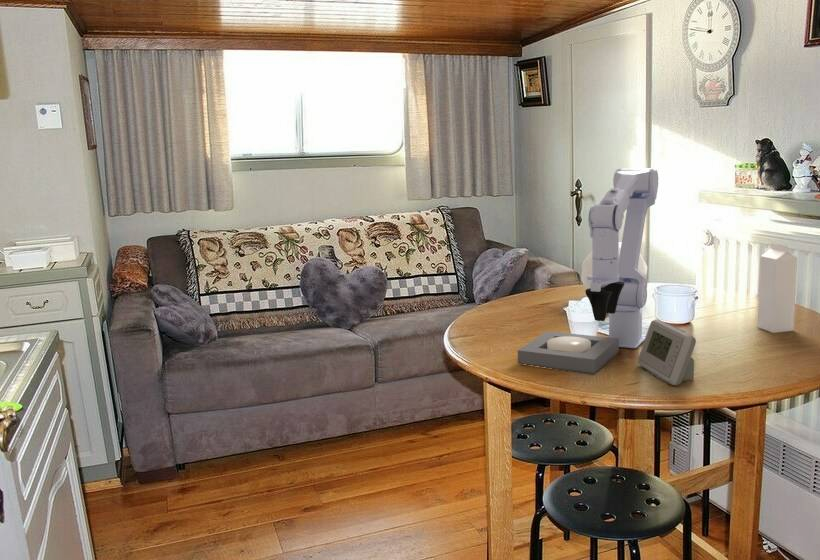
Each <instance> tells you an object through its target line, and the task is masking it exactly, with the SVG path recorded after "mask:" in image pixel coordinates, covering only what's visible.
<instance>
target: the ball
mask: <svg viewBox="0 0 820 560" xmlns="http://www.w3.org/2000/svg"><path fill="white" fill-rule="evenodd" d="M621 243H622V241H619V256H620V250H621ZM637 271H639V272H640V273H641V274H642V275H643V276H644V277H645V278H646V279H647V275H648V265H647V263H646V261H645V259H644V257H643V255H642V254H640V257H639V263H638V270H637ZM588 276H592V249H591V251H590V252H589V253H588V255H587V256H586V257H585V258H584V260H583V261H582V264H581V277H580V281H581V282H582V284H583V285H584V288H585V290H586V289H588V288H589V289H591V282H592V281H591V280H587V277H588Z"/></svg>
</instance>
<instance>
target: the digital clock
mask: <svg viewBox="0 0 820 560" xmlns="http://www.w3.org/2000/svg"><path fill="white" fill-rule="evenodd" d="M644 337H645V340H644V341H643V342H642V346H641V349H640V351H639V354H638V357H637V363H638V365H639V366H640V367H642V368H643V369H645V370H646V372H647V371H648V373H650V374H652V375H653V376H655V377H657V378H658V379H660V380H661V381H663V382H664V383H668V384H670V385H671V386H675V387H676V386H680V385H681V384H682V381H683V382H684V381H690V380H694V378H695V377H694V376H695V360H694V358H693V357H692V354H693V352H694V348H695V346H696V342H697V339H696V337H694V336H693V335H691V334H689V332H686V331H685V330H683V329H681V328H679V327H677V326H675V325H672V324H670V323H669V322H667V321H666V322H665V321H663V320H660V319H654V320H651V322H650V324H649V326H648V330H647V331H646V334H645V336H644Z"/></svg>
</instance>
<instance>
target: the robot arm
mask: <svg viewBox="0 0 820 560" xmlns="http://www.w3.org/2000/svg"><path fill="white" fill-rule="evenodd" d="M658 172H659V171H658V170H657V169H656V168H655V167H651V168H647V167H646V168H644V167H643V168H620V167H619V168H617V169H616V170H615V172H614V173H613V178H612V179H613V180H612V181H613V183H612V185H613V188H612V187H611V188H610V189H609V190H608V191H607V192H606V194H604V196H603V197H602V199H601V200H600V202H599V203H598V204H594V205H593V206H591V207H590V208H589V211H588V219H587V223H588V227H589V236H590V238H591V240H592V241H591V242H592V244H591V245H592V247H591V248H592V249H591V250H592V276H588V277H587V280H591V281H592V282H591V289H589V288H588V289H586V288H585V292H584V293H585V295H586V296H587V298H588V300H589V303H590V306H591V310H592V313H593V314H592V315H593V318H594V321H599V322H605V321H606V317H607V314H608V337H609V338H619V348H624V349H625V348H626V349H637V348H638V347H639V346H640V345H641V344H643V343H644V340H645V337H646V336H643V334H642V333H643V332H642V331H643V328H642V327H643V315H642V312H641V309H643V308H644V307H645V306H646V303H647V299H648V280H647V277H646V278H645V277H644V276H643V275H642V274H641V273H640V272H639V271H637V270H638V263H639V257H640V255H641V251H642V250H641V248H642V244H643V243H642V242H643V236H644V231H645V225H646V224H645V223H646V217H647V214H648V210H649V208H650V207H651V206H653V205H655V204H656V200H657V194H658V189H659V173H658ZM624 217H625V219H624ZM624 220H625V221H624ZM623 221H624V225H623ZM622 226H624V227H623V233H622V237H621V242H622V243H621V250H620V256H619V242H620V241H619V240H620V239H619V238H620V236H619V235H620V230H621V229H622Z"/></svg>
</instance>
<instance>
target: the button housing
mask: <svg viewBox="0 0 820 560" xmlns="http://www.w3.org/2000/svg"><path fill="white" fill-rule="evenodd" d="M565 336H571V337H581V338H585V339H588V340H590V341H591V348H590V349H589V350H588V351H586V352H585V353H577V352H568V351H560V350H551V349H547V341H548V340H550V339H552V338H556V337H565ZM619 350H620V347H619V338H609V336H608V337H607V336H598V335H597V336H596V335H587V334H579V333H578V334H577V333H569V332H558V331H548V330H547V331H545V332H543V333H542V334H540V335H539V336H537V337H535V338H534V339H533V340H531V341H529V342H528V343H526V344H525V345H523V346H522V347H520V348H519V349H518V350H517V364H518V363H519V364H526V365H533V366H539V367H546V368H552V369H551V370H553V369H558V370H557V371H561V370H565V371H564V372H568V371H571V373H576V372H577V374H585V375H591V376H592V375H593V376H595V375H596V374H597V373H598V372H599V371H600V370H602V369H603V367H605V366H606V365H607V364H608V363H610V361H612V359H614V358H615V357H616V356H617V355H618V354H619V353H620V352H619Z"/></svg>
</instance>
